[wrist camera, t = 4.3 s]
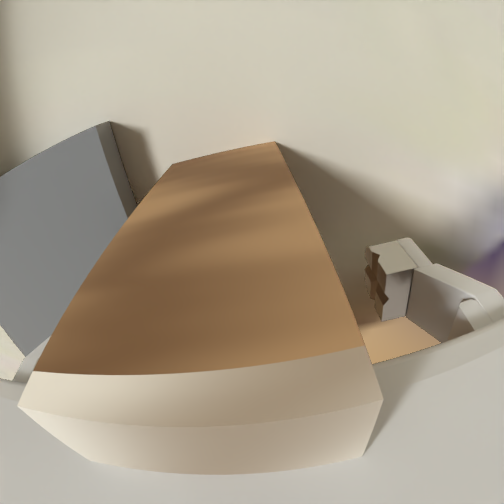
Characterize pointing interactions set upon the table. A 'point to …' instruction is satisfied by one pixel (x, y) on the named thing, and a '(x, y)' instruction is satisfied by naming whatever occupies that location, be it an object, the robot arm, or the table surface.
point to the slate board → (57, 229)
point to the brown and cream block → (211, 334)
